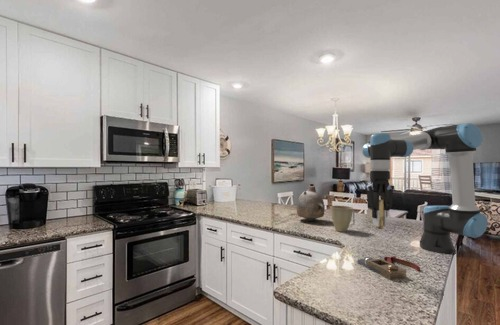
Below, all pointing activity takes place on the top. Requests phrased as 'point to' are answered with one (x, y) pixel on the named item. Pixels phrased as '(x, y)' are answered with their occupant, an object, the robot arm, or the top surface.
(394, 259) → the pliers
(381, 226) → the brass pin
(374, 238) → the top surface
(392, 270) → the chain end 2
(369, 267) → the chain end
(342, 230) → the plant pot
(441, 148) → the robot arm
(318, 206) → the jug
